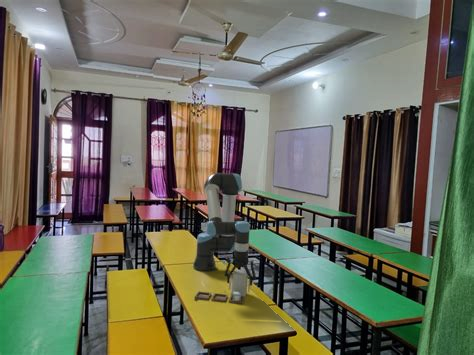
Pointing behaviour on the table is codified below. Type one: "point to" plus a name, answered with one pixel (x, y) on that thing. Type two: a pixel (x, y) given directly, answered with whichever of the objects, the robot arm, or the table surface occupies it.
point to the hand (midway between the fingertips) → (239, 290)
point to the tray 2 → (219, 297)
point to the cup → (240, 281)
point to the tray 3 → (236, 301)
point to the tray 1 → (202, 295)
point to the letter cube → (236, 296)
